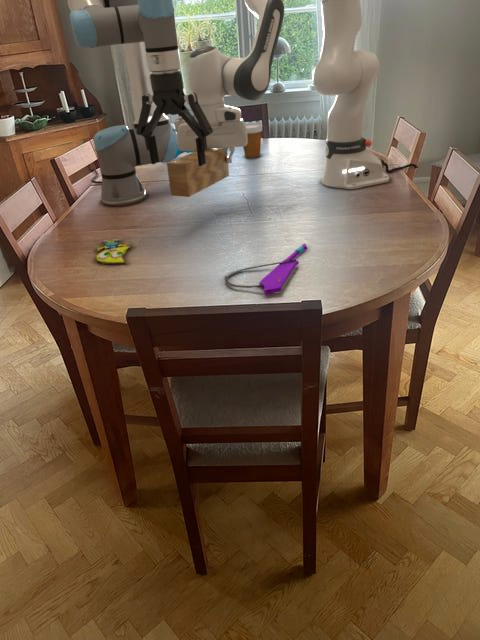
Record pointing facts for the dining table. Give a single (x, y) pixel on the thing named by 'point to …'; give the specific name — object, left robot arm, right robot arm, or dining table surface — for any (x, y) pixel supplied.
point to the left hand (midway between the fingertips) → (178, 163)
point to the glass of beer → (253, 140)
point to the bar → (197, 172)
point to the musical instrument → (275, 273)
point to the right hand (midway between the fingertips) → (215, 163)
